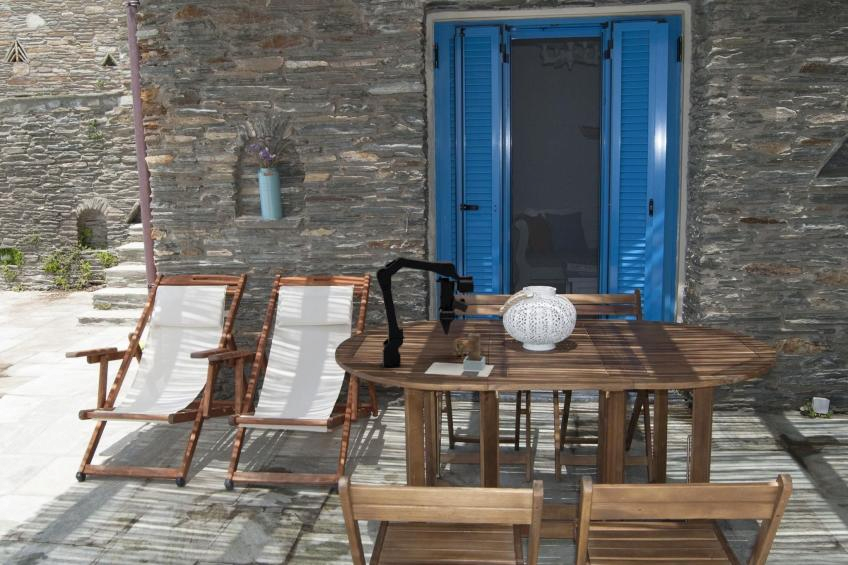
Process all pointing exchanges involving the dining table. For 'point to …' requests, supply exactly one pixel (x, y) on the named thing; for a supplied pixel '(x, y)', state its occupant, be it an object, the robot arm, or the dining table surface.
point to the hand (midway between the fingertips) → (446, 331)
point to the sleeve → (474, 364)
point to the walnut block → (473, 347)
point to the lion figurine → (460, 346)
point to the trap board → (457, 370)
